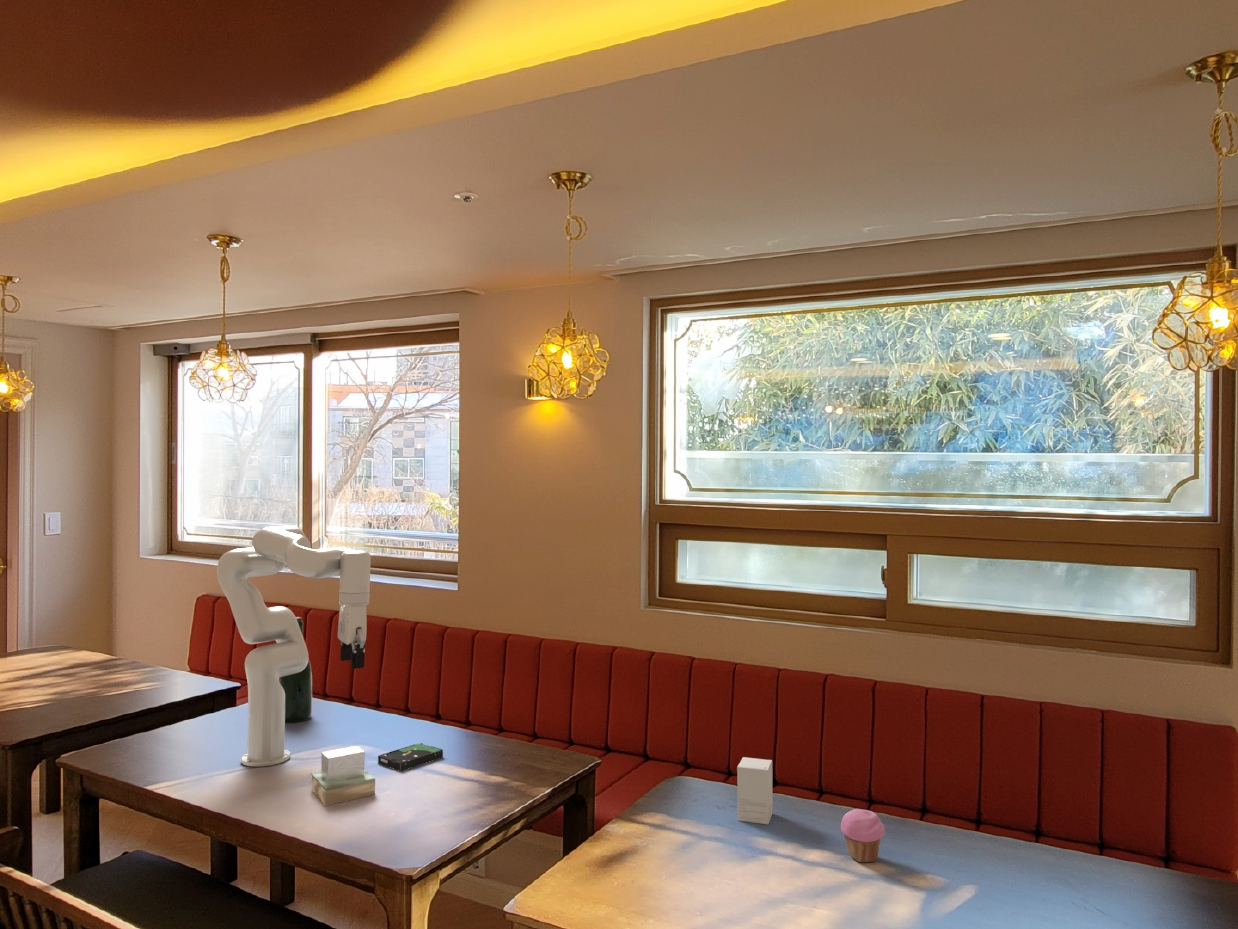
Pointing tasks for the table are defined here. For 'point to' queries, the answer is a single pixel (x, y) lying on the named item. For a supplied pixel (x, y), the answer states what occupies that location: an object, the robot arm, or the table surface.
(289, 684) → the beer bottle
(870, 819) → the cupcake
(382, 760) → the disk drive
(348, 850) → the table surface
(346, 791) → the stand
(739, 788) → the supplement box
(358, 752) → the block
